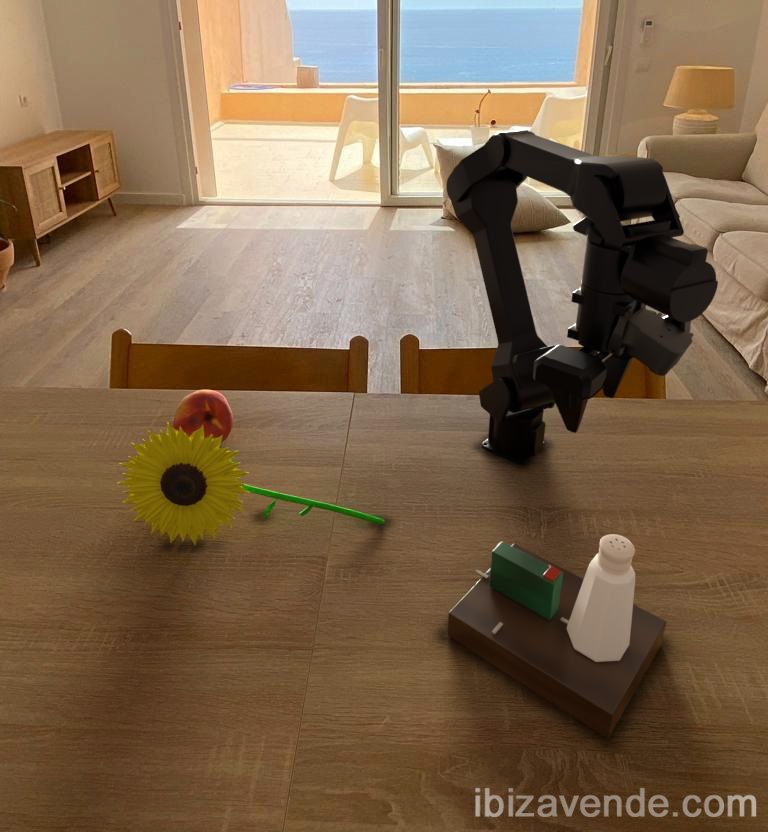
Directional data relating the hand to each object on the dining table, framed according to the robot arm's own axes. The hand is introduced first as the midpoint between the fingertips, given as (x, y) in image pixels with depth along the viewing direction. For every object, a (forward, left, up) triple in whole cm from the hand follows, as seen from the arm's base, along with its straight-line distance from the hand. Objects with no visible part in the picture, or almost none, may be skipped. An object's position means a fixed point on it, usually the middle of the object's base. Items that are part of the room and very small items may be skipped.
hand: (591, 413), depth 78 cm
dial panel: (+7, -19, -13) cm, 24 cm away
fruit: (-45, -20, -13) cm, 51 cm away
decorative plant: (-26, -27, -13) cm, 40 cm away
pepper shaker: (+11, -19, -10) cm, 24 cm away
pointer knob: (+3, -19, -10) cm, 22 cm away
